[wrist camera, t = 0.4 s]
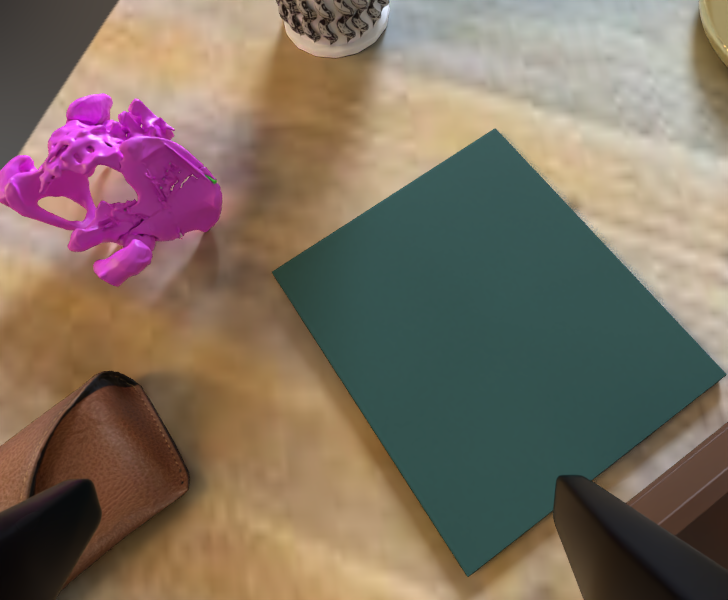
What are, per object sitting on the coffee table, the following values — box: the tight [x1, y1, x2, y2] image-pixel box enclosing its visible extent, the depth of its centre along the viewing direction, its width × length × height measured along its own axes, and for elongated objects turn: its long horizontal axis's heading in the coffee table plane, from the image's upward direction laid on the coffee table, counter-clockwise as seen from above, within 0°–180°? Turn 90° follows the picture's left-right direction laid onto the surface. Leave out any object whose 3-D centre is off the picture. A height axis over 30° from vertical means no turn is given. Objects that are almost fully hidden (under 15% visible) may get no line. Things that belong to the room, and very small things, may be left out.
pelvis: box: [0, 94, 222, 287], centre depth 22 cm, size 12×10×7 cm
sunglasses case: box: [0, 371, 189, 590], centre depth 19 cm, size 18×7×7 cm, turn 132°
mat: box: [272, 129, 726, 577], centre depth 21 cm, size 20×18×1 cm
